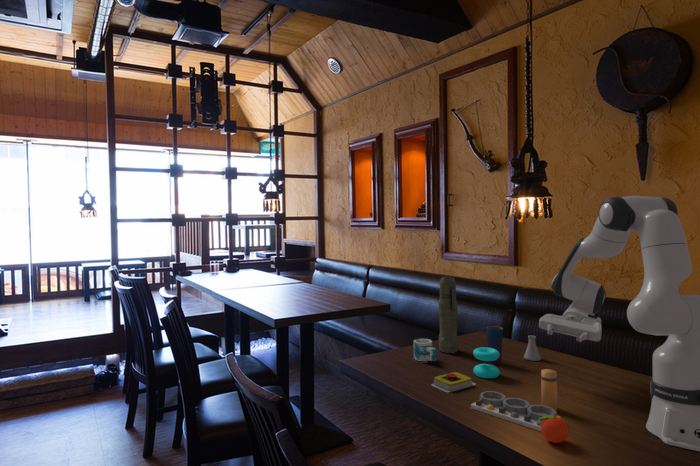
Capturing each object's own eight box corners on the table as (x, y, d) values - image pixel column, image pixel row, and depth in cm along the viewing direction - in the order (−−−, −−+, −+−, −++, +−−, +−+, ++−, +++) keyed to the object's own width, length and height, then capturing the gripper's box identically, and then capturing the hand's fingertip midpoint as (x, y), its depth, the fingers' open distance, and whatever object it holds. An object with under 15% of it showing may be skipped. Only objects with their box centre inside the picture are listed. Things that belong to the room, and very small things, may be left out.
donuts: (503, 353, 167) (476, 353, 167) (503, 379, 167) (477, 379, 167) (495, 346, 177) (470, 346, 177) (495, 370, 177) (470, 370, 177)
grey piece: (560, 420, 132) (560, 410, 132) (545, 433, 124) (545, 422, 124) (487, 398, 149) (487, 389, 149) (470, 408, 142) (470, 398, 142)
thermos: (449, 355, 198) (448, 278, 197) (433, 349, 208) (432, 276, 208) (464, 352, 201) (463, 277, 201) (448, 346, 212) (447, 274, 211)
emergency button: (429, 374, 163) (459, 367, 170) (429, 386, 163) (459, 378, 170) (447, 382, 155) (477, 374, 162) (447, 394, 155) (477, 385, 162)
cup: (505, 361, 188) (504, 327, 187) (501, 366, 182) (500, 330, 182) (489, 359, 191) (488, 325, 191) (484, 363, 186) (484, 328, 185)
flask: (542, 361, 187) (542, 338, 187) (525, 361, 188) (524, 338, 188) (539, 356, 194) (538, 334, 194) (521, 356, 195) (521, 333, 195)
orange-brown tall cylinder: (559, 408, 141) (559, 371, 140) (553, 412, 137) (553, 375, 137) (545, 404, 144) (544, 368, 144) (538, 408, 141) (538, 371, 141)
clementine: (537, 445, 118) (536, 419, 118) (536, 433, 124) (535, 408, 124) (570, 449, 115) (569, 423, 115) (567, 437, 122) (566, 412, 121)
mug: (425, 355, 198) (425, 337, 198) (441, 363, 187) (441, 344, 187) (410, 358, 195) (410, 339, 195) (426, 366, 184) (425, 346, 184)
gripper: (545, 307, 168) (533, 321, 158) (606, 319, 154) (596, 335, 144) (545, 322, 169) (532, 336, 159) (604, 335, 156) (595, 352, 146)
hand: (563, 336), depth 152 cm, fingers open, 8 cm apart
